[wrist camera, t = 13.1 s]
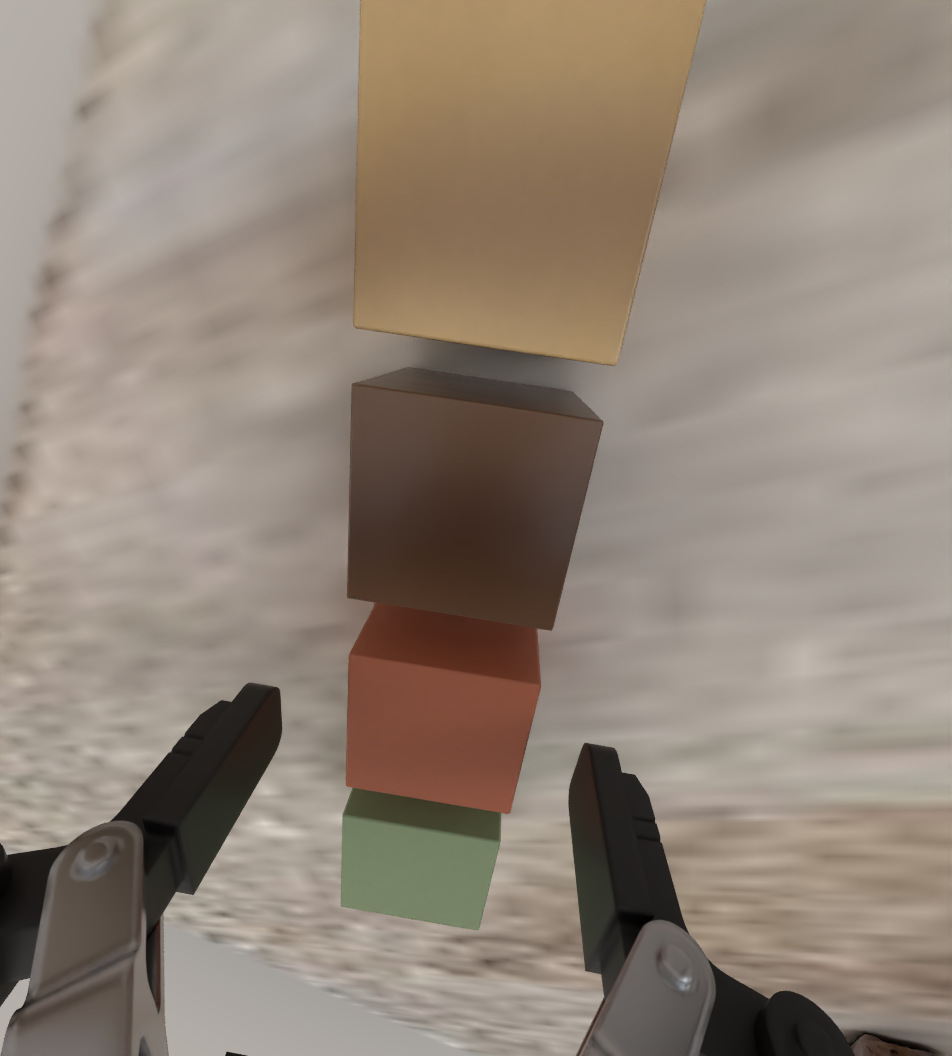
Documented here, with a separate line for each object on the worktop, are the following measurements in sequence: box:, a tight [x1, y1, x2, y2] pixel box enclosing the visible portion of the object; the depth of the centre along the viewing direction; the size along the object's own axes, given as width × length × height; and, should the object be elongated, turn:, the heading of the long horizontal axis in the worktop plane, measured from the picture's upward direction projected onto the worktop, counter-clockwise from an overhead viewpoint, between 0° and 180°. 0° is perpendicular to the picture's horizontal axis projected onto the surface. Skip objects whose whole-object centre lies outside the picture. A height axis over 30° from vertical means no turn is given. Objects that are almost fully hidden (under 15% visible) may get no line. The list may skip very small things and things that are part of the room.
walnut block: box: [347, 367, 603, 630], centre depth 12 cm, size 5×5×5 cm
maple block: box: [353, 0, 706, 366], centre depth 10 cm, size 5×5×5 cm
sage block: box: [341, 788, 501, 930], centre depth 17 cm, size 5×5×5 cm
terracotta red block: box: [346, 603, 541, 814], centre depth 15 cm, size 5×5×5 cm
